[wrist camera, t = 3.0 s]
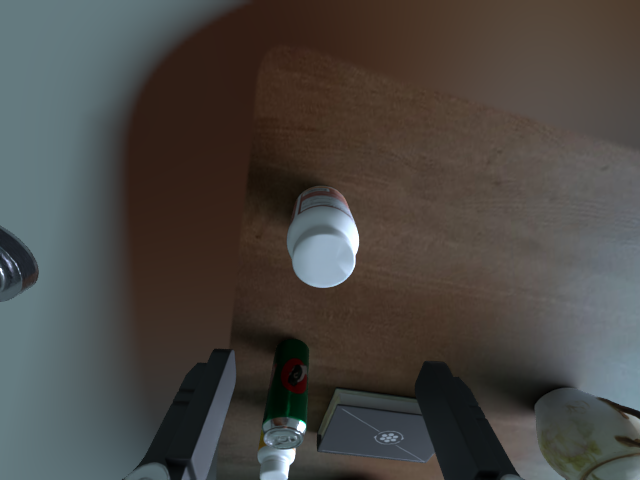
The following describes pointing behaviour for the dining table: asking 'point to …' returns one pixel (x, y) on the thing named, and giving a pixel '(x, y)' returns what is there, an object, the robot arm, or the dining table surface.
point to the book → (374, 427)
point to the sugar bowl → (588, 436)
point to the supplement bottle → (274, 461)
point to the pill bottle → (322, 237)
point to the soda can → (287, 396)
